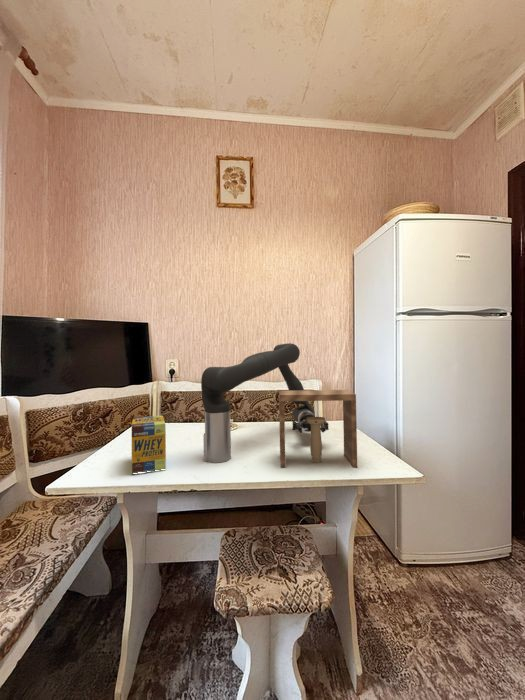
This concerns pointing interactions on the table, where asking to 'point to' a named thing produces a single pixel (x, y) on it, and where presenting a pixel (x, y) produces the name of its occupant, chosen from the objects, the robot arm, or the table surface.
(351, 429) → the shelf
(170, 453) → the table surface
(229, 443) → the robot arm
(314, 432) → the handle
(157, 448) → the protein box
